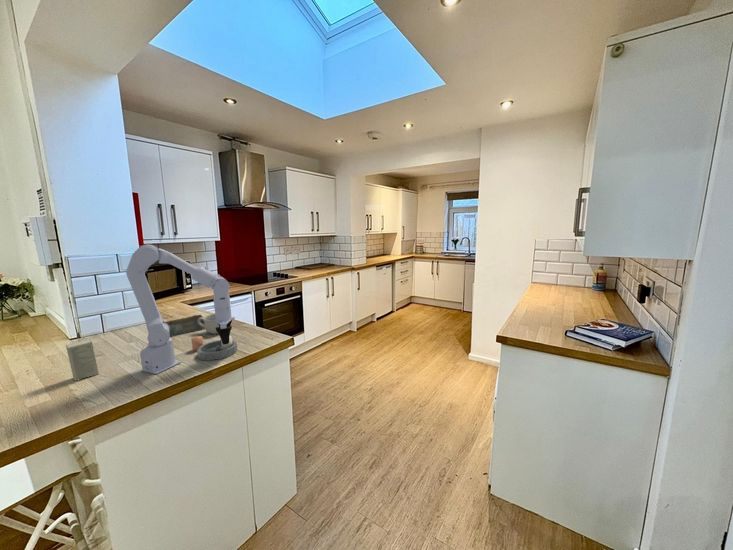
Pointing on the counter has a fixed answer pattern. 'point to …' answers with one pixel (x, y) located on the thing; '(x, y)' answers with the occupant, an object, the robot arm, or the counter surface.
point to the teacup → (209, 323)
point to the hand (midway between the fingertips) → (226, 340)
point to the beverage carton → (185, 325)
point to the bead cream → (226, 346)
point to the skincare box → (82, 359)
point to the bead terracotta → (197, 342)
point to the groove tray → (215, 350)
